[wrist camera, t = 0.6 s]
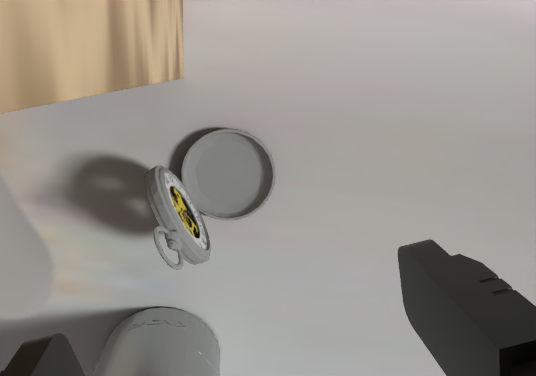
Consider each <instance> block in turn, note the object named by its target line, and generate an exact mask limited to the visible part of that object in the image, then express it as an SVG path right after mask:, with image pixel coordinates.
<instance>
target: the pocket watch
mask: <svg viewBox="0 0 536 376" xmlns="http://www.w3.org/2000/svg"><path fill="white" fill-rule="evenodd" d="M181 180H182V182H181V181H180V180H179V179H178V178H177V177H176V176H175V175H174V174H173V173H172V172H171V171H170V170H168V169H166V168H164V167H163V166H158V165H157V166H156V167H154V168H153V169H151V171H150V172H148V173H147V175H146V176H145V187H146V192H147V196H148V199H149V202H150V205H151V208H152V210H153V212H154V215H155V217H156V219H157V221H158V223H159V225H160V226H157V227H155V229H154V241H155V244H156V247H157V249H158V251H159V253H160V255H161V256H162V258H163V259H164V261H165V262H166V263H167V264H168V265H169V266H170V267H172V268H174V269H176V270H179V269H181V268H182V266H183V258H184V259H185V260H186V261H187V262H189V263H190V264H194V265H195V264H198V263H203V262H205V261H207V260H209V256H210V241H209V236H208V232H207V229H206V227H205V224H204V221H203V219H202V217H201V214H200V212H202V213H204V214H206V215H208V216H209V217H212V218H215V219H220V220H237V219H241V218H244V217H247V216H249V215H251V214H253V213H255V212H256V211H257V210H259V209H260V208H261V207H262V206H263V205H264V204H265V202H266V201H267V200H268V198H269V196H270V195H271V193H272V190H273V187H274V183H275V166H274V163H273V159H272V157H271V154H270V153H269V151H268V150H267V148H266V147H265V146H264V144H263V143H262V142H261V141H260V140H259V139H257V138H256V137H254V136H252V135H251V134H249V133H247V132H245V131H241V130H237V129H220V130H216V131H212V132H209V133H207V134H205V135H204V136H202V137H201V138H199V139H198V140H196V141H195V142H194V144H193V145H192V146H191V147H190V149H189V150H188V151H187V153H186V155H185V158H184V161H183V165H182V168H181ZM199 211H200V212H199ZM158 231H163V232H164V234H165V239H166V242H167V244H168V245H167V246H168V247H169V249H172V250H174V251H177V252H178V257H179V263H178V264H174V263H172V262H171V261H170V260H169V259H168V258H167V256H166V255H165V254H164V252H163V249H162V247H161V245H160V243H159V238H158Z"/></svg>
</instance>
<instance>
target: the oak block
mask: <svg viewBox="0 0 536 376" xmlns="http://www.w3.org/2000/svg"><path fill="white" fill-rule="evenodd" d="M180 78H184V66H183V3H182V0H0V113H5V112H11V111H16V110H21V109H26V108H31V107H36V106H41V105H47V104H52V103H57V102H62V101H67V100H72V99H77V98H83V97H88V96H93V95H98V94H103V93H108V92H114V91H119V90H124V89H129V88H134V87H139V86H144V85H150V84H155V83H160V82H165V81H170V80H175V79H180Z"/></svg>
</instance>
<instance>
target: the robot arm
mask: <svg viewBox="0 0 536 376" xmlns="http://www.w3.org/2000/svg"><path fill="white" fill-rule="evenodd" d="M398 262H399V270H400V278H401V287H402V295H403V303H404V307H405V311H406V314H407V316H408V319H409V321H410V323H411V325H412V327H413V328H414V330H415V331H416V333H417V334H418V335H419V337H420V338H421V340H422V341H423V343H424V344H425V345H426V347H427V348H428V350H429V351H430V353H431V354H432V355H433V357H434V358H435V360H436V361H437V363H438V364H439V365H440V367H441V368H442V370H443V371H444V373H445V374H446V375H447V376H536V306H534V305H533V304H532V303H531V302H530V301H528V300H527V299H526V298H525V297H523V296H522V295H521V294H520V293H518V292H517V291H516V290H514V291H513V289H512V287H511V286H510V285H509V284H507V283H506V282H505V281H504V280H502V279H499V278H498V276H497V275H496V274H495V273H494V272H492V271H491V270H490V269H489V268H487V267H486V266H485V265H484V264H483V263H481V262H478V261H476V260H473V259H471V258H468V257H466V256H463V255H461V254H458V255H454V256H450V255H449V254H448V253H447V252H446V251H444V250H443V249H442V248H441V247H440V246H439V245H438V244H437V243H435V242H434V241H433V240H430V239H429V240H425V241H421V242H417V243H413V244H409V245H405V246H401V247H399V249H398ZM0 376H85V375H84V373H83V371H82V369H81V367H80V364H79V362H78V360H77V358H76V356H75V354H74V352H73V350H72V348H71V345H70V343H69V341H68V339H67V338H66V337H65V336H64V335H63V334H55V335H51V336H47V337H43V338H39V339H35V340H31V341H27V342H25V343H23V344H22V345H21V346H20V348H19V349H18V351H17V352H16V354H15V355H14V357H13V358H12V360H11V361H10V363H9V364H8V366H7V367H6V369H5V370H4V371H2V372H1V373H0ZM92 376H220V350H219V346H218V341H217V339H216V337H215V335H214V333H213V332H212V330H211V329H210V328H209V327H208V326H207V324H206V323H204V322H203V321H202V320H200V319H199V318H198V317H196V316H194V315H192V314H190V313H188V312H186V311H182V310H178V309H174V308H153V309H147V310H144V311H140V312H137V313H135V314H133V315H131V316H129V317H128V318H126V319H124V320H123V321H122V322H121V323H120V324H119V325H117V326H116V328H115V329H114V330H113V332H112V333H111V334H110V336H109V338H108V340H107V343H106V345H105V347H104V349H103V352H102V354H101V356H100V359H99V361H98V363H97V366H96V368H95V370H94V372H93V374H92Z"/></svg>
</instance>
